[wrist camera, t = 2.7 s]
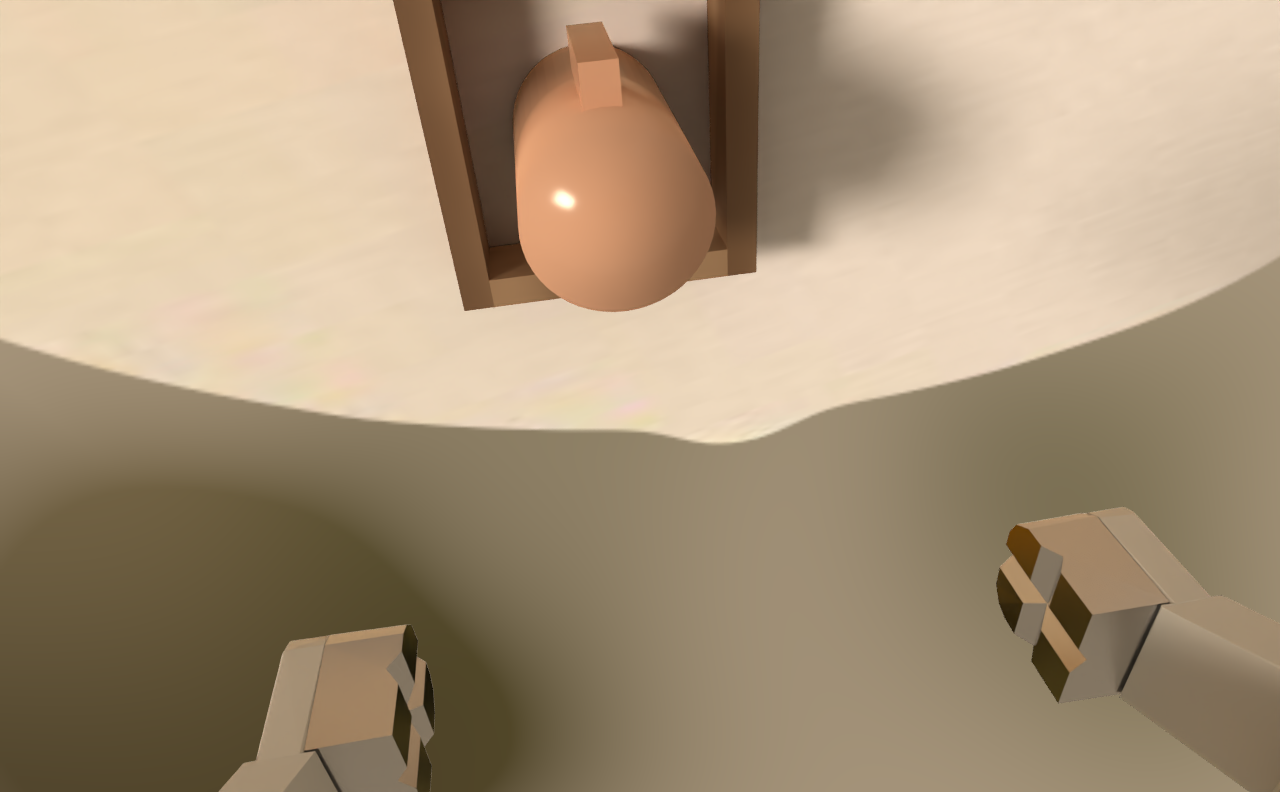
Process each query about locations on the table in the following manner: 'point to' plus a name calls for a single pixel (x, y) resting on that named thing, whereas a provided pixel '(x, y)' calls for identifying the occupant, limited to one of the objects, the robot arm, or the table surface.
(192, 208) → the table surface
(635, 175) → the capsule with tab
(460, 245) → the brown wooden frame
